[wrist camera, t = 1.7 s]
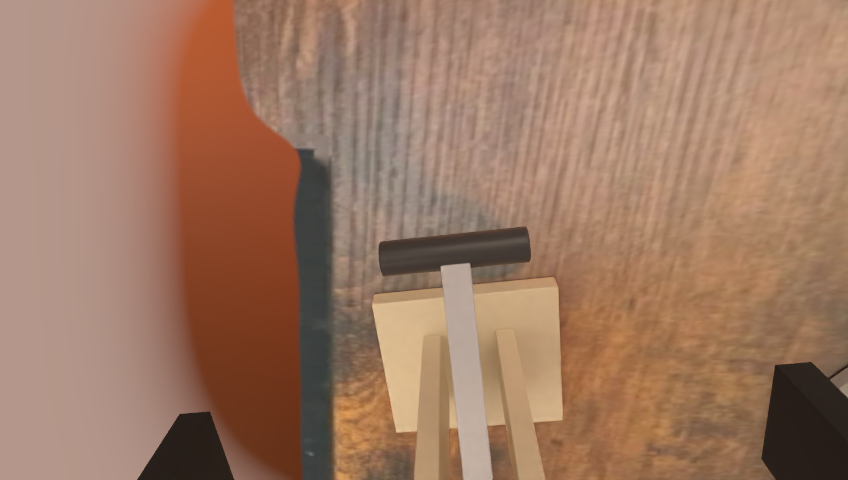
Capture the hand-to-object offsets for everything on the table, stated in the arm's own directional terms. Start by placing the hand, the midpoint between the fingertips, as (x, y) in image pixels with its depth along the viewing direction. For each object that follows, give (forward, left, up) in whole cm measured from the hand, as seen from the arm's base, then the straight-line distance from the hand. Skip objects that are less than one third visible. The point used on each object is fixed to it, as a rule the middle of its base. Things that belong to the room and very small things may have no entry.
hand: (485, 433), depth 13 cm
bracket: (+9, -1, -17) cm, 19 cm away
